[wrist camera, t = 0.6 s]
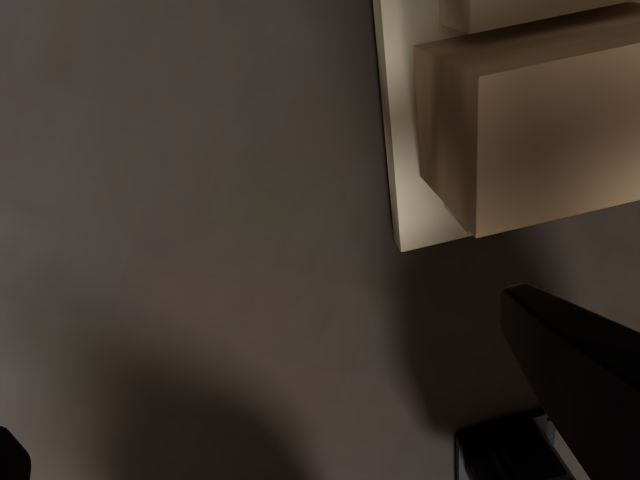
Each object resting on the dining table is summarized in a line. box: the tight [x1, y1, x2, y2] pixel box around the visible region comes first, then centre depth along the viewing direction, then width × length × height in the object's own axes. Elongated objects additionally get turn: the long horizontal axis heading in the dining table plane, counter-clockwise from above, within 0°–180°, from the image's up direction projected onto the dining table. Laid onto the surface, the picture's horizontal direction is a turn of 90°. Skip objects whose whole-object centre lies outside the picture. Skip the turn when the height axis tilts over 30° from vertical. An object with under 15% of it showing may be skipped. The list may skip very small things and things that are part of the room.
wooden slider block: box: [413, 0, 640, 238], centre depth 15 cm, size 8×9×6 cm
